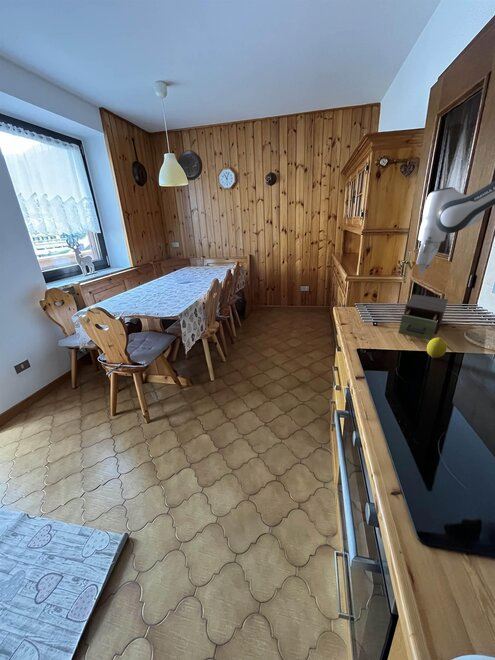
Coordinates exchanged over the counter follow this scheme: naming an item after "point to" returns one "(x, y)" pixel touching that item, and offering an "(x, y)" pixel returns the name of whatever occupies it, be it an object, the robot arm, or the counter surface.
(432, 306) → the cabinet
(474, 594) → the counter surface
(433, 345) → the lemon
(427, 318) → the drawer
